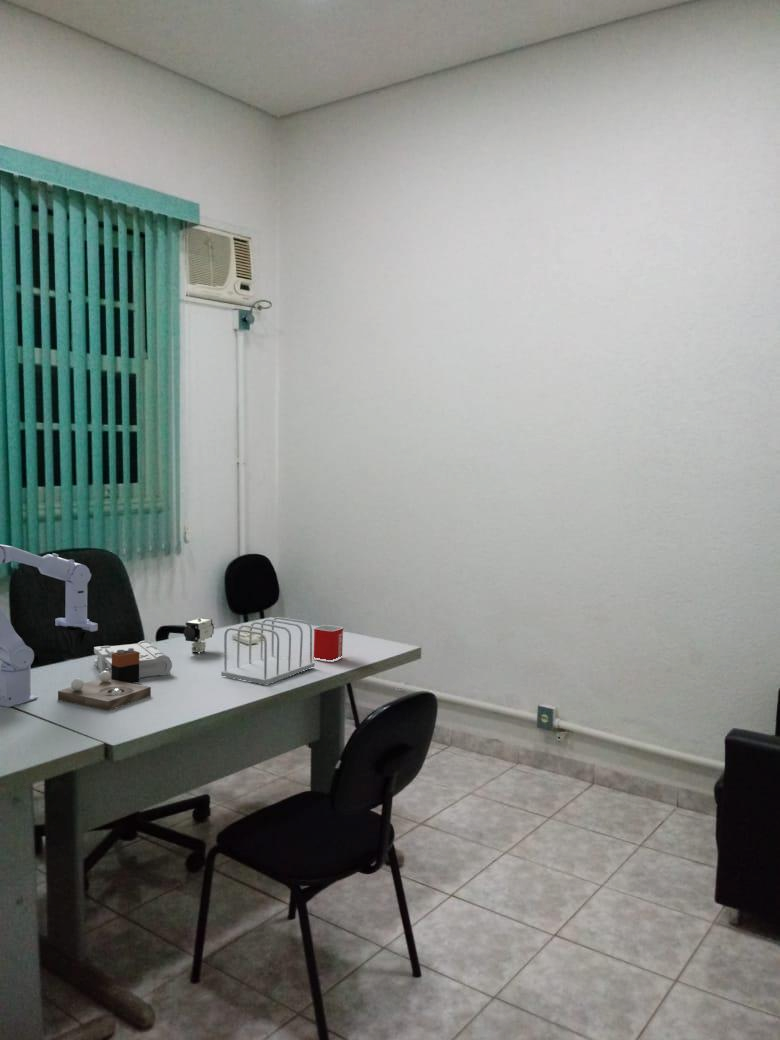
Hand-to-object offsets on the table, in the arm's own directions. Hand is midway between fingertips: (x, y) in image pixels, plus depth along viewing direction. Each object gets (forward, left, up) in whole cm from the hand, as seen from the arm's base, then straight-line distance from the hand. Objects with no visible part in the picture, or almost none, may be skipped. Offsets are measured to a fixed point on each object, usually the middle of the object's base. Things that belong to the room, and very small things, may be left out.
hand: (76, 653), depth 234 cm
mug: (+71, -42, -11) cm, 83 cm away
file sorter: (+45, -35, -11) cm, 58 cm away
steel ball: (-2, -17, -9) cm, 19 cm away
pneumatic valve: (+53, -1, -11) cm, 54 cm away
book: (+26, +5, -11) cm, 28 cm away
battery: (+12, -7, -11) cm, 18 cm away
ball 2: (+3, -8, -6) cm, 10 cm away
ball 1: (-7, -8, -6) cm, 12 cm away
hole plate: (-2, -13, -10) cm, 16 cm away
